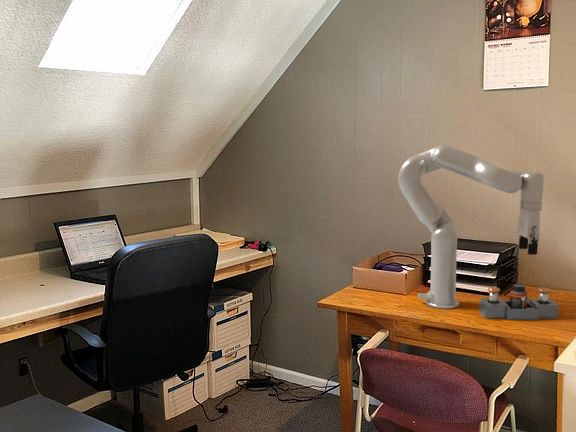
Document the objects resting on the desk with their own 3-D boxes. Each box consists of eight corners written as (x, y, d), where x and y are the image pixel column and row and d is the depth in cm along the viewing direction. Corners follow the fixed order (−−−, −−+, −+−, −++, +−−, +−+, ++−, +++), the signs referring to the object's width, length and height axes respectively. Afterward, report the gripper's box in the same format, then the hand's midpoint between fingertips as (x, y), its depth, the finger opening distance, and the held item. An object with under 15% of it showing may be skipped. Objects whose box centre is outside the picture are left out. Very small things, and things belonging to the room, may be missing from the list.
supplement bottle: (527, 318, 225) (529, 287, 223) (510, 317, 226) (511, 287, 224) (524, 313, 231) (526, 283, 229) (508, 312, 232) (509, 282, 230)
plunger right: (539, 307, 226) (540, 290, 225) (535, 304, 229) (536, 287, 228) (550, 307, 225) (551, 290, 224) (546, 304, 229) (547, 287, 228)
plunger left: (489, 307, 227) (489, 290, 226) (486, 304, 231) (487, 287, 230) (500, 307, 226) (501, 290, 225) (497, 304, 230) (498, 287, 229)
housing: (485, 319, 224) (486, 306, 223) (478, 310, 235) (478, 297, 234) (559, 320, 222) (560, 306, 221) (548, 310, 233) (549, 298, 232)
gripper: (512, 202, 237) (509, 246, 239) (528, 209, 220) (525, 256, 222) (532, 202, 237) (529, 246, 239) (550, 209, 219) (546, 256, 222)
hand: (527, 251), depth 231 cm, fingers open, 9 cm apart
